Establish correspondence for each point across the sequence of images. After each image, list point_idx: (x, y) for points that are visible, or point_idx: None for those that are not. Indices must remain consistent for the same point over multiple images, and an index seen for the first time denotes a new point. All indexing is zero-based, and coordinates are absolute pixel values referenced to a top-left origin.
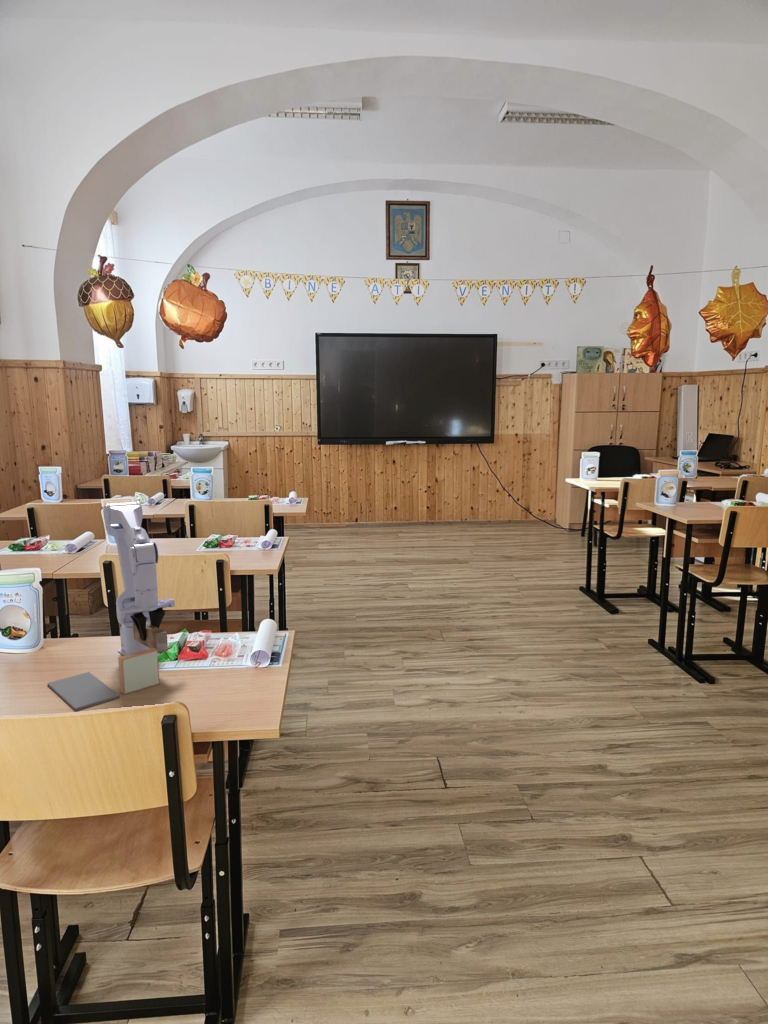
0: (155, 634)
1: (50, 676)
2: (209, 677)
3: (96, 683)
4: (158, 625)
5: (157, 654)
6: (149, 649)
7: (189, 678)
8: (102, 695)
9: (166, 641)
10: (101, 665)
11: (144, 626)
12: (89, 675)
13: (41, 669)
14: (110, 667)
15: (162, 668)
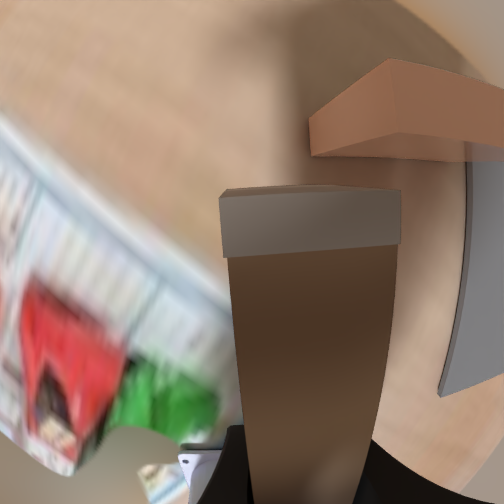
0: (390, 255)
1: (477, 418)
2: (98, 59)
3: (479, 285)
4: (217, 500)
5: (372, 72)
6: (437, 123)
7: (165, 95)
8: (499, 162)
9: (235, 191)
10: None
11: (394, 491)
12: (456, 368)
13: (458, 460)
14: None
15: (218, 305)
